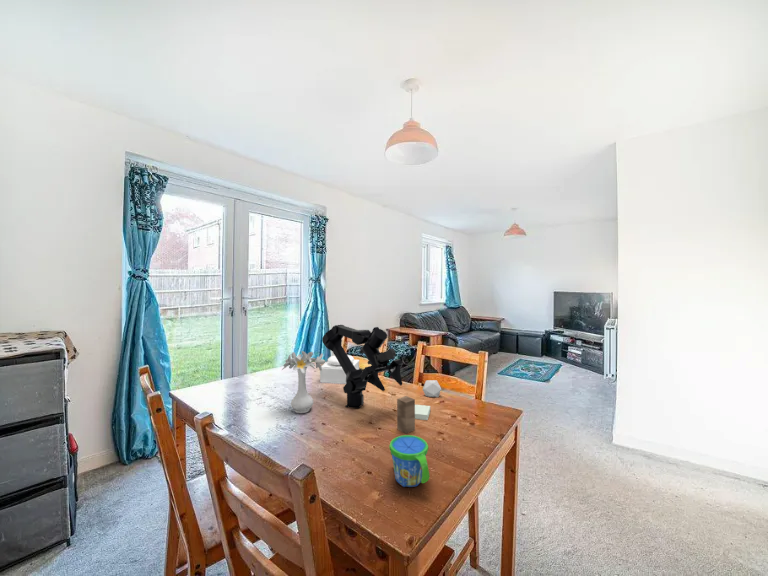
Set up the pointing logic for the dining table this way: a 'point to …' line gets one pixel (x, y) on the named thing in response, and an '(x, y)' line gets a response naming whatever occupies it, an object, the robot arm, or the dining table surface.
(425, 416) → the top slab
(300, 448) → the dining table surface
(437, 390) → the die
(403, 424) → the pillar
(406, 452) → the snack cup
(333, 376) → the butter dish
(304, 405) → the flower vase
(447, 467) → the dining table surface
